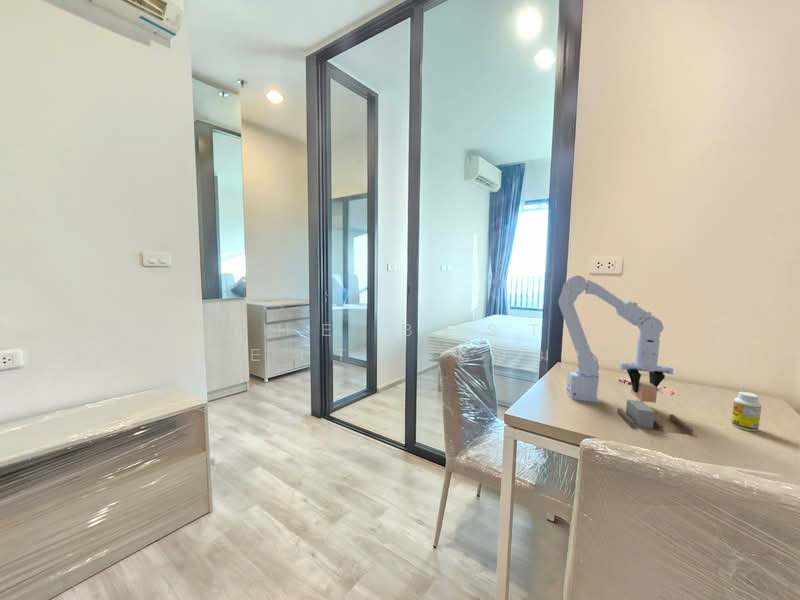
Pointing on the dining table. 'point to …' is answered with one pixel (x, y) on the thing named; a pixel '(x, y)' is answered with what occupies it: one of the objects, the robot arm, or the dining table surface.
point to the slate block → (640, 413)
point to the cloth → (657, 387)
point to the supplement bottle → (746, 411)
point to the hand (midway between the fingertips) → (643, 392)
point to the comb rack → (661, 424)
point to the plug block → (645, 391)
